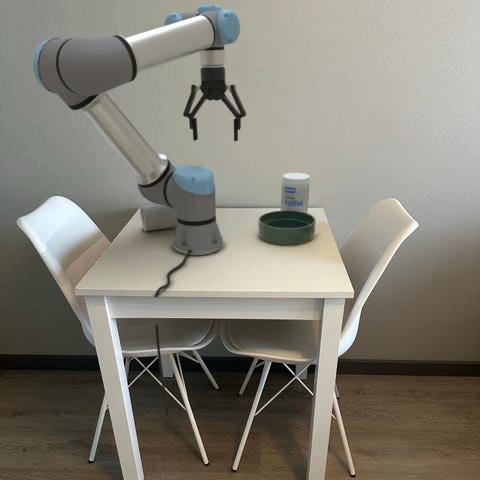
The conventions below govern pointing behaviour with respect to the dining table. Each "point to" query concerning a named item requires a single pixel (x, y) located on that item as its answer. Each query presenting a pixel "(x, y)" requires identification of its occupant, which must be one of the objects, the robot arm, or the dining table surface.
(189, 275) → the dining table surface
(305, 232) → the dark green bowl
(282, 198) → the supplement tub
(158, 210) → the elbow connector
